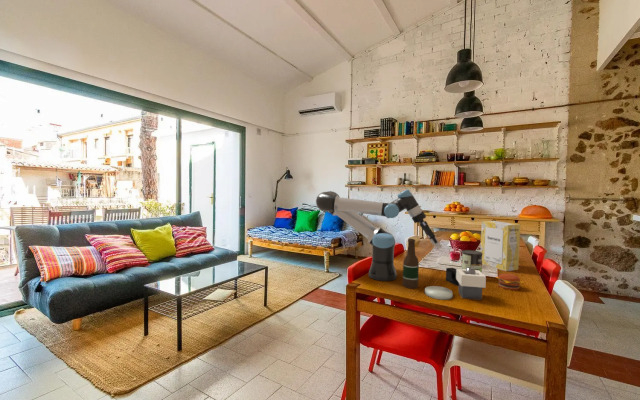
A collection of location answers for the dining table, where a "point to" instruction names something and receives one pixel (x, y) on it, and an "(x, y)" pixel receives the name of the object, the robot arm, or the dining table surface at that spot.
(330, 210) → the robot arm
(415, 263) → the beer bottle
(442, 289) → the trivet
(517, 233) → the pasta box
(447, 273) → the digital camera
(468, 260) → the coffee can
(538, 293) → the dining table surface
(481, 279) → the white square open box
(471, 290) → the post stand
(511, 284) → the hamburger
